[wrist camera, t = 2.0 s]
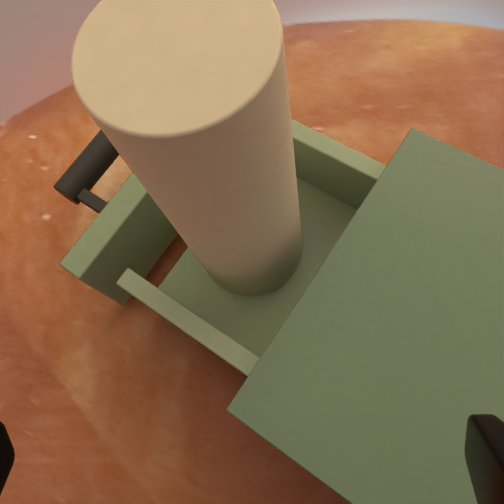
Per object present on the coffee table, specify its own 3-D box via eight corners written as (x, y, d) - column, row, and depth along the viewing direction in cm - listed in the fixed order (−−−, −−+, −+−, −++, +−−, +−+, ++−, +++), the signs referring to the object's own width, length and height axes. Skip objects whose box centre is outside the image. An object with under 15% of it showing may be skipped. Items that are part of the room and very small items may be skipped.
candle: (265, 316, 21) (194, 175, 9) (182, 262, 23) (26, 79, 11) (322, 231, 22) (326, 4, 10) (239, 185, 24) (156, -63, 12)
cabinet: (251, 413, 22) (225, 410, 16) (388, 201, 25) (411, 127, 18) (545, 628, 18) (664, 736, 12) (671, 347, 21) (822, 315, 14)
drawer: (49, 252, 25) (-10, 215, 21) (177, 95, 27) (149, 31, 23) (319, 447, 20) (320, 454, 16) (447, 234, 23) (478, 188, 18)
